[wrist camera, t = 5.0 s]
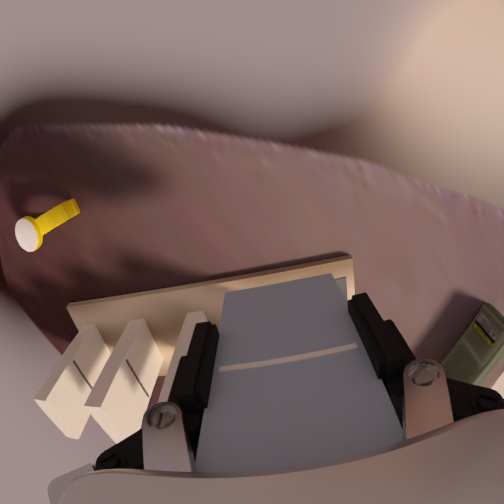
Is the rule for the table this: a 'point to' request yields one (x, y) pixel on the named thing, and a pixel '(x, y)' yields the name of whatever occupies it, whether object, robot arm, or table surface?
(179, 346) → the domino
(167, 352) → the board
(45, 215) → the yellow wristwatch
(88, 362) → the domino
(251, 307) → the domino
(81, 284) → the table surface
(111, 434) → the domino
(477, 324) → the handheld radio
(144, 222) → the table surface
